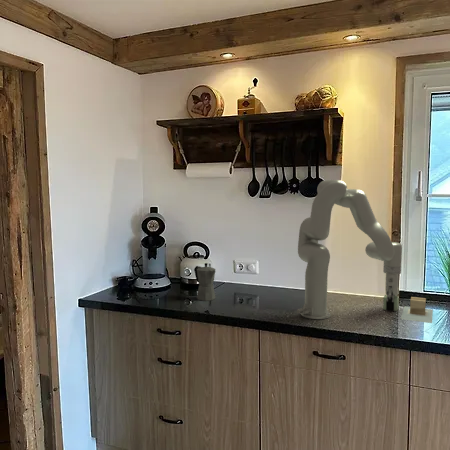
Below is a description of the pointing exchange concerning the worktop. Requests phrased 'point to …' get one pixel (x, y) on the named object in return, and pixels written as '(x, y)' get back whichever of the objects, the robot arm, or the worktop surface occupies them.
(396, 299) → the green block
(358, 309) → the worktop surface
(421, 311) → the oak block
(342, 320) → the worktop surface
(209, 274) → the coffeepot
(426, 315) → the plan board
